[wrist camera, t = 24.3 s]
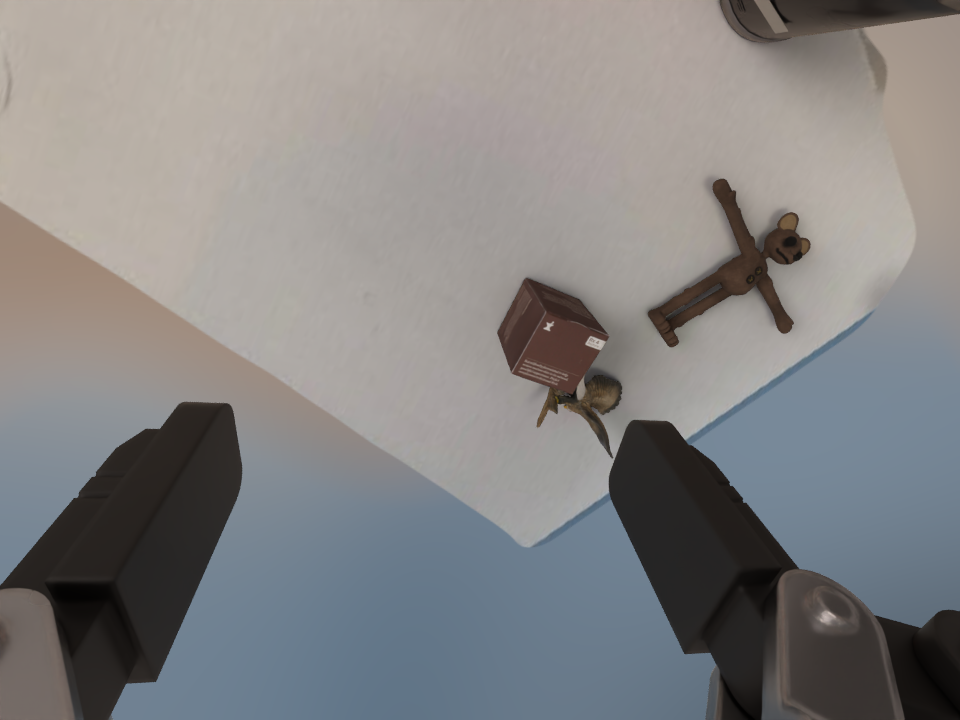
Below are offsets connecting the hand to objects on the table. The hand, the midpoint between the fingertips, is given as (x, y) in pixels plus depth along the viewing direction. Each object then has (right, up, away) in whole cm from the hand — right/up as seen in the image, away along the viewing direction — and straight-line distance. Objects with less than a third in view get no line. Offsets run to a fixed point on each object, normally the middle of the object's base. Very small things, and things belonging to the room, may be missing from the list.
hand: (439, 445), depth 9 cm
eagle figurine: (+11, -2, +38) cm, 39 cm away
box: (+6, +6, +33) cm, 34 cm away
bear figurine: (+23, +10, +33) cm, 41 cm away
